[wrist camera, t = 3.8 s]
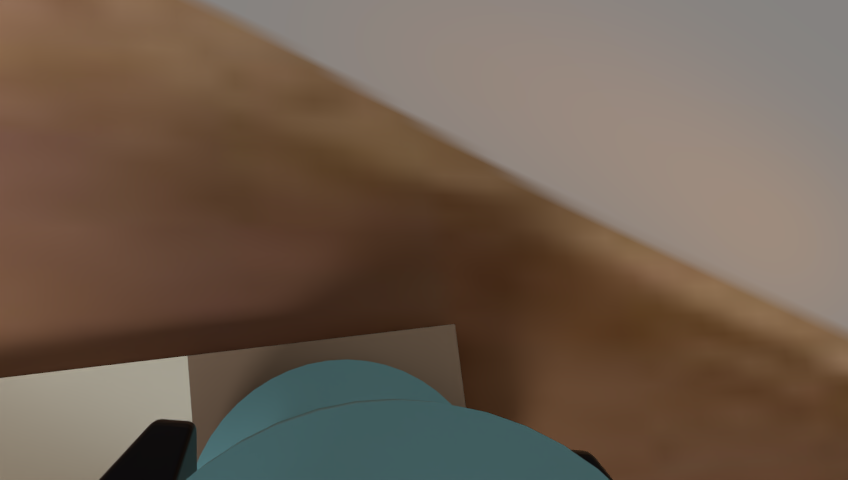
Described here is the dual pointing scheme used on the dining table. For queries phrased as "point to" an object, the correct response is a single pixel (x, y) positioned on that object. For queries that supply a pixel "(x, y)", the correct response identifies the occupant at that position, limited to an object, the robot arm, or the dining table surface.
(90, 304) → the dining table surface
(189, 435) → the robot arm
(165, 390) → the board
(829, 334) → the dining table surface
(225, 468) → the pawn
